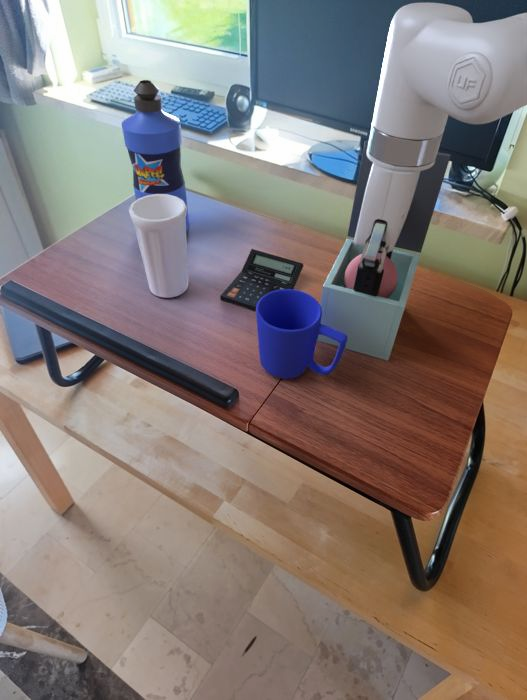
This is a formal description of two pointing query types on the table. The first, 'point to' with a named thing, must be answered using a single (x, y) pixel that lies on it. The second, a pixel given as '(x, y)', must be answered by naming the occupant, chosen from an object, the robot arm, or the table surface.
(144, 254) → the cup
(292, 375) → the mug
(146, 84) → the blue bottle
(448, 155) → the lid
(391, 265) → the light bulb
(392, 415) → the table surface
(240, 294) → the calculator
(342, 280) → the mint green open box
